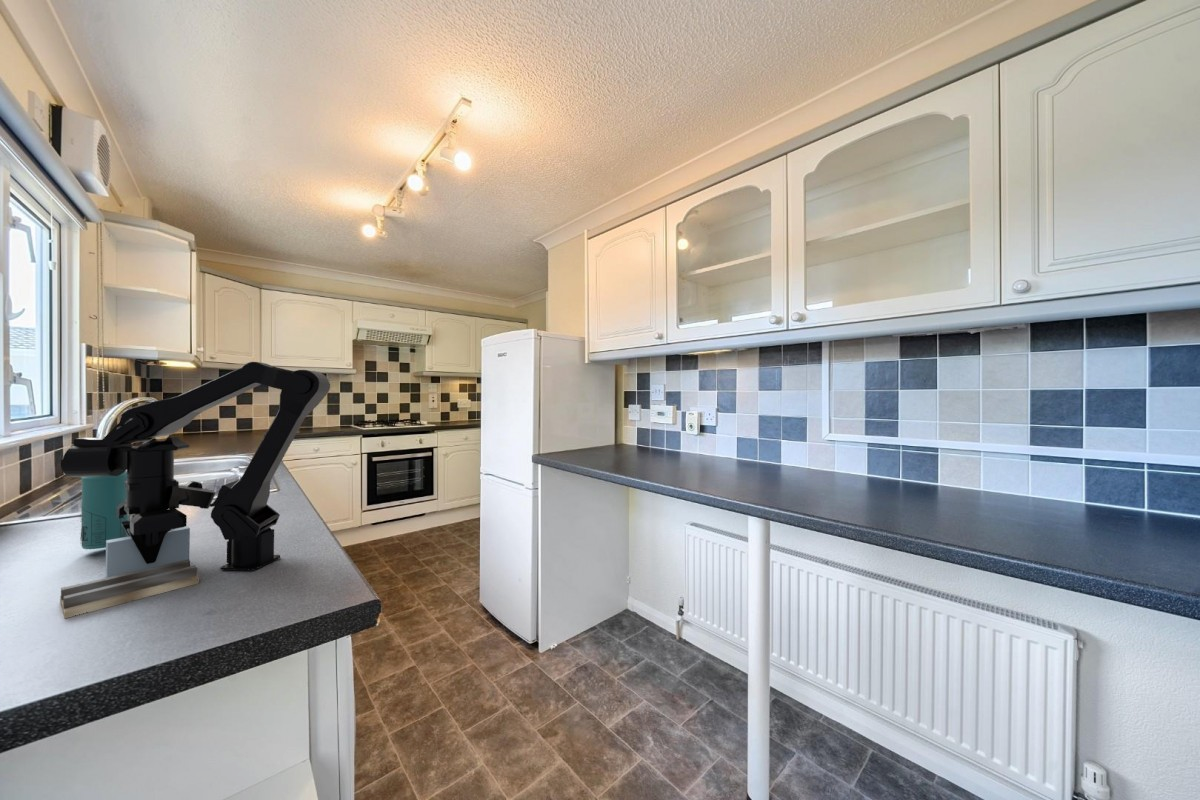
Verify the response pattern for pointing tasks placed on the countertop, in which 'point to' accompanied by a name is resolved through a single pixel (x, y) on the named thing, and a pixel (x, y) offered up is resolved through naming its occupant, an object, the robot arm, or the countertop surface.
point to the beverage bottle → (102, 510)
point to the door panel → (128, 558)
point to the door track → (126, 587)
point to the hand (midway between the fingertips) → (149, 561)
